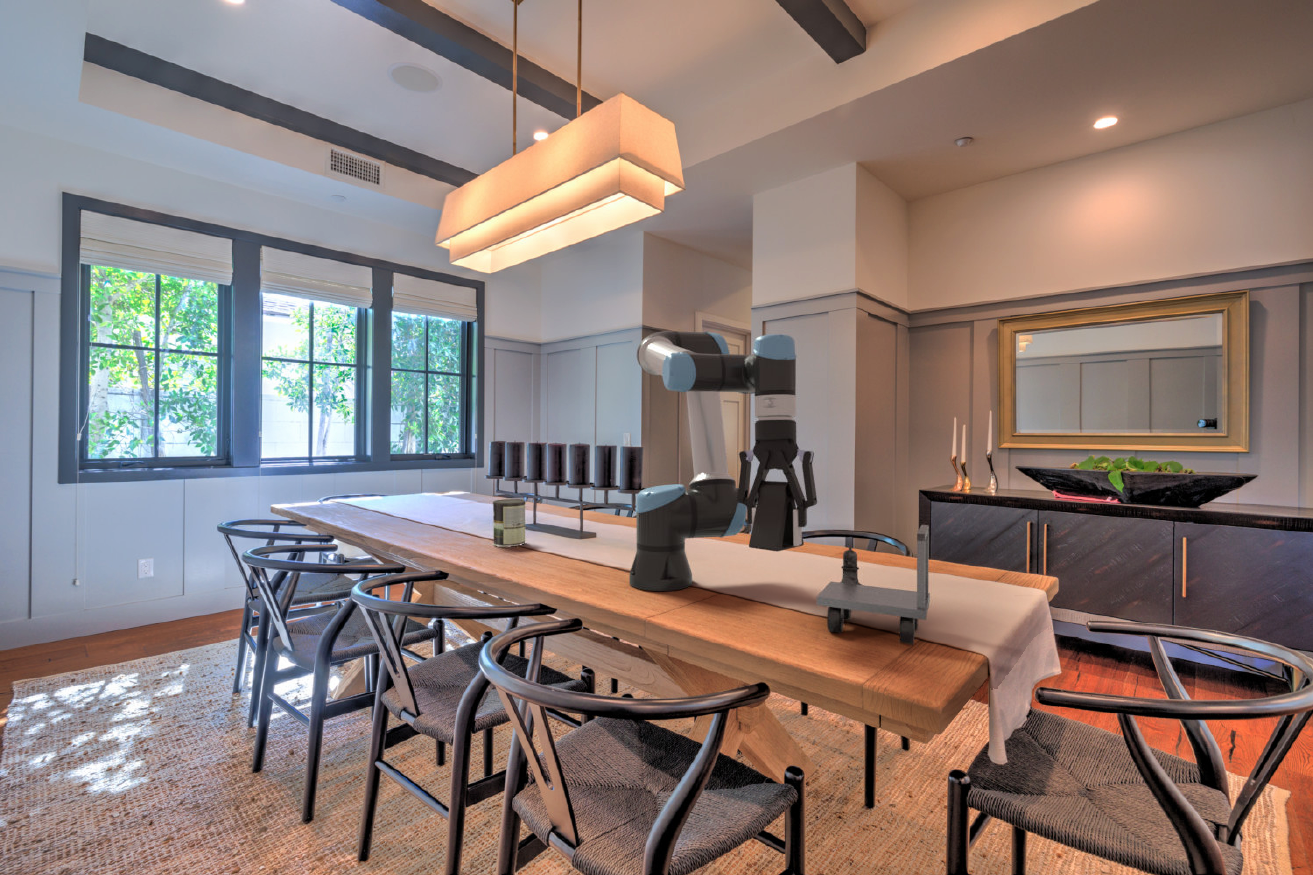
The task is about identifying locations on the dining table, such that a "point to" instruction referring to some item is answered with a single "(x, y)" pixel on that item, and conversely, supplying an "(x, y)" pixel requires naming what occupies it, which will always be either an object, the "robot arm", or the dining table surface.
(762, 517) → the black a-frame stand
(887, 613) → the trolley
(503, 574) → the dining table surface
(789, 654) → the dining table surface
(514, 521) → the coffee can
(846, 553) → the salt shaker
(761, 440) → the robot arm
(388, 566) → the dining table surface
